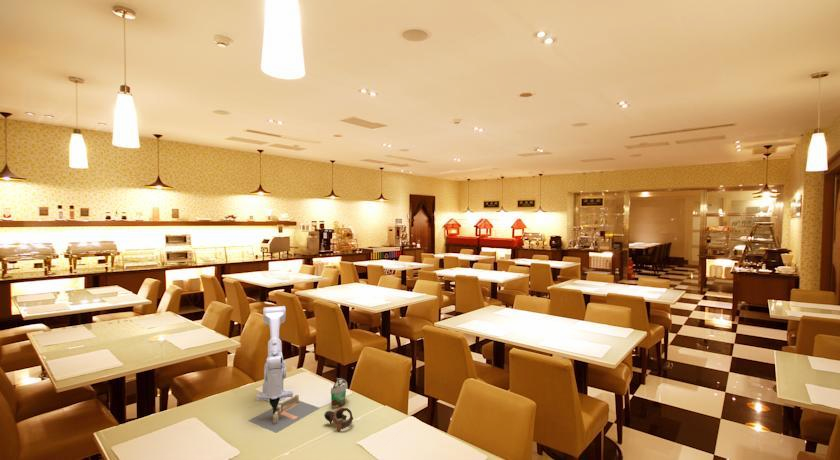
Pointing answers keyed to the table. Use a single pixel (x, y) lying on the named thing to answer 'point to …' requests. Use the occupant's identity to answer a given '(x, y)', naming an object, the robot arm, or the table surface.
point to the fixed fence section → (289, 403)
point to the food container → (338, 393)
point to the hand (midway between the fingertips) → (275, 414)
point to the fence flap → (277, 414)
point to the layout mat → (284, 417)
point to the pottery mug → (339, 415)
